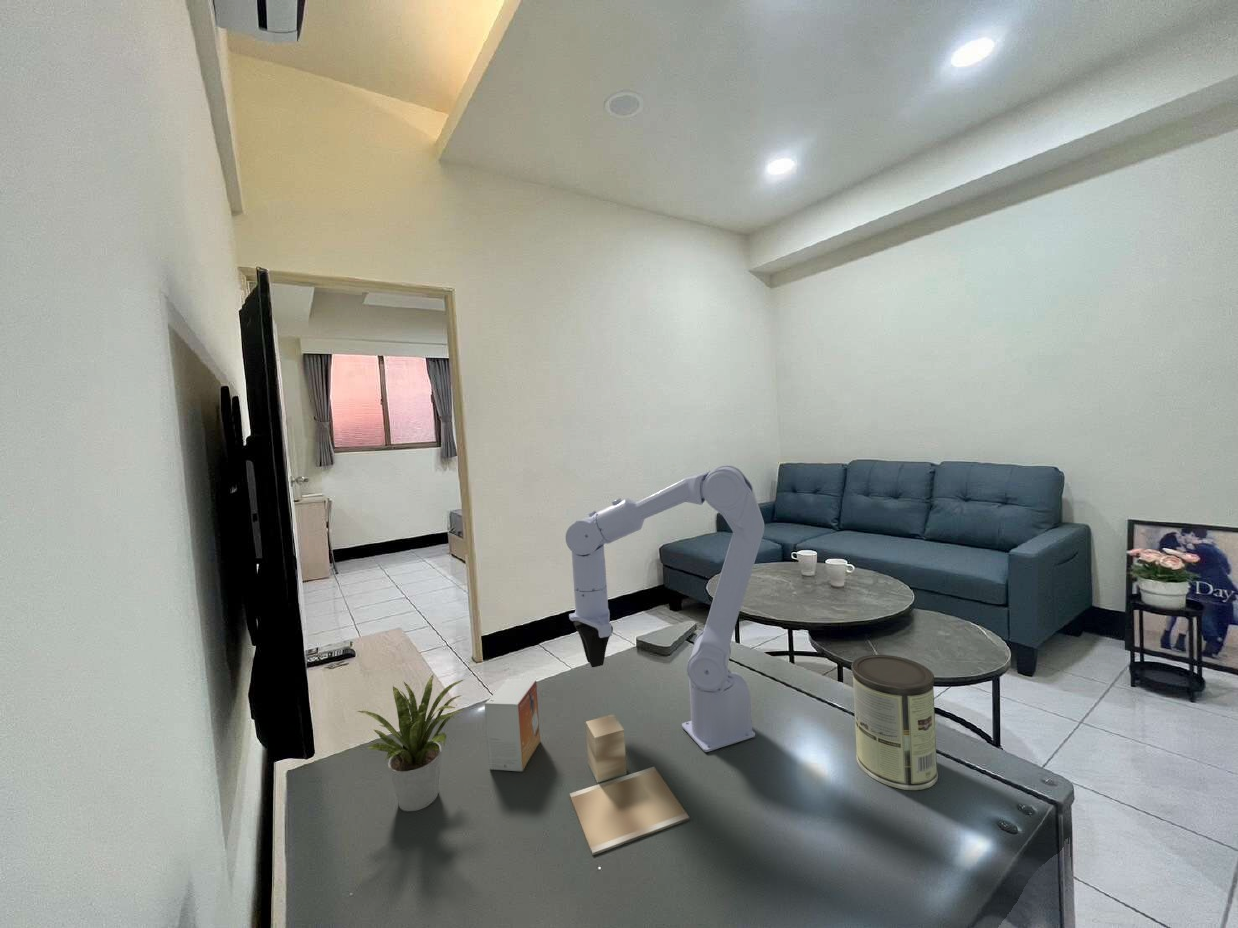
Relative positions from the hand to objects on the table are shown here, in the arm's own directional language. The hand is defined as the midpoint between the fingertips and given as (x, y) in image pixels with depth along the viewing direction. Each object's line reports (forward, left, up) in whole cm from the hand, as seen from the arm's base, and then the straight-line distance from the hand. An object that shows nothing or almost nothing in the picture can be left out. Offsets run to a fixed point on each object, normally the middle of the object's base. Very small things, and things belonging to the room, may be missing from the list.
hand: (595, 663), depth 85 cm
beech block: (+3, +13, -10) cm, 17 cm away
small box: (+15, +3, -11) cm, 19 cm away
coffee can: (-35, +30, -11) cm, 47 cm away
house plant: (+28, +7, -11) cm, 31 cm away
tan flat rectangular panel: (+3, +21, -10) cm, 24 cm away
